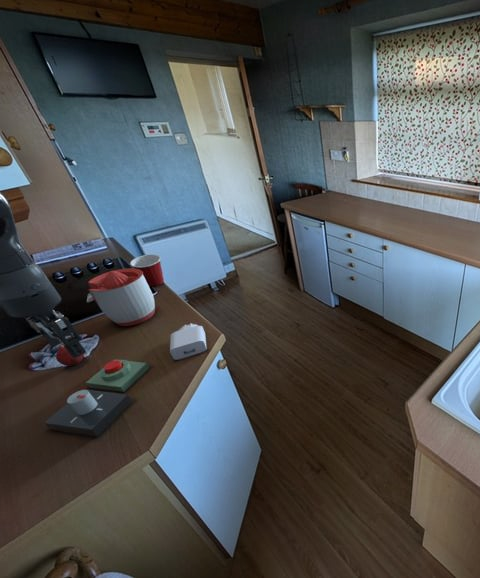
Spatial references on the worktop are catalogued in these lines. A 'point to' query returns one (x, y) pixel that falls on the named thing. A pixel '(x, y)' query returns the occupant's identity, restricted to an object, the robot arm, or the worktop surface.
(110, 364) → the button
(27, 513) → the worktop surface
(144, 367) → the block
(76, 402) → the burner knob
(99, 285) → the citrus juicer
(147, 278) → the plastic cup
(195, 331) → the charger
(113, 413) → the panel
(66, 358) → the red round fruit
